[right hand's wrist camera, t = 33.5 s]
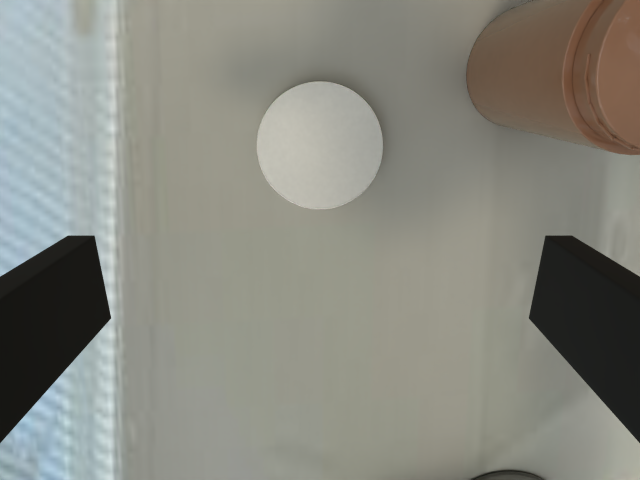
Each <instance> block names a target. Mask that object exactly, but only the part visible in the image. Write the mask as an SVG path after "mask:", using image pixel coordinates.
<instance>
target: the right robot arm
mask: <svg viewBox="0 0 640 480" xmlns="http://www.w3.org/2000/svg"><path fill="white" fill-rule="evenodd" d="M110 319H111V315H110V310H109V305H108V300H107V295H106V291H105V286H104V281H103V276H102V271H101V266H100V261H99V256H98V251H97V246H96V241H95V236H67V237H65V238H63V239H62V240H60V241H59V242H57V243H55V244H54V245H52V246H50V247H49V248H47V249H45V250H44V251H42V252H40V253H39V254H37V255H35V256H34V257H32V258H30V259H29V260H27V261H26V262H24V263H22V264H21V265H19V266H17V267H16V268H14V269H12V270H11V271H9V272H7V273H6V274H4V275H2V276H1V277H0V443H1V442H2V440H3V439H4V438H5V437H6V436H7V435H8V434H9V433H10V431H11V430H12V429H13V428H14V427H15V426H16V425H17V424H18V422H19V421H20V420H21V419H22V418H23V417H24V416H25V415H26V413H27V412H28V411H29V410H30V409H31V408H32V407H33V405H34V404H35V403H36V402H37V401H38V400H39V399H40V398H41V396H42V395H43V394H44V393H45V392H46V391H47V390H48V389H49V387H50V386H51V385H52V384H53V383H54V382H55V381H56V380H57V378H58V377H59V376H60V375H61V374H62V373H63V372H64V371H65V369H66V368H67V367H68V366H69V365H70V364H71V363H72V362H73V360H74V359H75V358H76V357H77V356H78V355H79V354H80V353H81V351H82V350H83V349H84V348H85V347H86V346H87V345H88V344H89V342H90V341H91V340H92V339H93V338H94V337H95V336H96V335H97V333H98V332H99V331H100V330H101V329H102V328H103V327H104V326H105V324H106V323H107V322H108V321H109V320H110ZM529 319H530V320H531V321H532V322H533V323H534V324H535V326H536V327H537V328H538V329H539V330H540V331H541V332H542V333H543V335H544V336H545V337H546V338H547V339H548V340H549V341H550V342H551V344H552V345H553V346H554V347H555V348H556V349H557V350H558V351H559V353H560V354H561V355H562V356H563V357H564V358H565V359H566V360H567V362H568V363H569V364H570V365H571V366H572V367H573V368H574V369H575V371H576V372H577V373H578V374H579V375H580V376H581V377H582V378H583V380H584V381H585V382H586V383H587V384H588V385H589V386H590V387H591V389H592V390H593V391H594V392H595V393H596V394H597V395H598V396H599V398H600V399H601V400H602V401H603V402H604V403H605V404H606V406H607V407H608V408H609V409H610V410H611V411H612V412H613V413H614V415H615V416H616V417H617V418H618V419H619V420H620V421H621V422H622V424H623V425H624V426H625V427H626V428H627V429H628V430H629V431H630V433H631V434H632V435H633V436H634V437H635V438H636V439H637V440H638V442H639V443H640V277H639V276H638V275H636V274H634V273H633V272H631V271H629V270H628V269H626V268H624V267H623V266H621V265H619V264H618V263H616V262H614V261H613V260H611V259H610V258H608V257H606V256H605V255H603V254H601V253H600V252H598V251H596V250H595V249H593V248H591V247H590V246H588V245H586V244H585V243H583V242H581V241H580V240H578V239H577V238H575V237H573V236H545V241H544V246H543V251H542V256H541V261H540V266H539V271H538V276H537V281H536V286H535V291H534V295H533V300H532V305H531V310H530V315H529ZM474 480H543V479H541V478H539V477H537V476H535V475H532V474H528V473H524V472H515V471H505V472H497V473H491V474H487V475H484V476H481V477H479V478H476V479H474Z"/></svg>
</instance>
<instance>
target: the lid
mask: <svg viewBox="0 0 640 480" xmlns="http://www.w3.org/2000/svg"><path fill="white" fill-rule="evenodd" d="M257 155H258V161H259V164H260V167H261V170H262V172H263V174H264V176H265V178H266V180H267V181H268V183H269V184H270V185H271V187H272V188H273V189H274V190H275V191H276V192H277V193H278V194H279V195H280V196H282V197H283V198H285V199H286V200H288V201H289V202H291V203H293V204H296V205H298V206H301V207H304V208H309V209H331V208H335V207H339V206H342V205H344V204H347V203H349V202H350V201H352V200H354V199H355V198H357V197H358V196H359V195H361V194H362V193H363V192H364V191H365V190H366V189H367V188H368V186H369V185H370V184H371V182H372V181H373V179H374V178H375V176H376V174H377V172H378V170H379V167H380V164H381V160H382V155H383V136H382V131H381V127H380V124H379V121H378V119H377V117H376V115H375V113H374V111H373V110H372V108H371V107H370V105H369V104H368V103H367V102H366V101H365V100H364V99H363V98H362V97H361V96H360V95H358V94H357V93H356V92H354V91H353V90H351V89H349V88H347V87H345V86H343V85H340V84H336V83H333V82H326V81H314V82H307V83H303V84H300V85H297V86H295V87H293V88H291V89H289V90H287V91H286V92H284V93H283V94H281V95H280V96H279V97H278V98H277V99H276V100H275V101H274V102H273V103H272V104H271V105H270V107H269V108H268V110H267V111H266V113H265V115H264V117H263V118H262V121H261V124H260V126H259V130H258V135H257Z"/></svg>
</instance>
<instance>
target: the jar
mask: <svg viewBox="0 0 640 480" xmlns="http://www.w3.org/2000/svg"><path fill="white" fill-rule="evenodd" d="M467 87H468V92H469V95H470V98H471V100H472V102H473V104H474V106H475V107H476V109H477V110H478V111H479V112H480V113H481V115H482V116H484V117H485V118H486V119H487V120H489V121H491V122H492V123H495V124H497V125H500V126H504V127H508V128H512V129H516V130H521V131H525V132H529V133H533V134H537V135H542V136H546V137H550V138H554V139H559V140H563V141H567V142H571V143H575V144H580V145H584V146H588V147H592V148H597V149H601V150H605V151H609V152H614V153H618V154H625V155H640V0H533V1H530V2H527V3H525V4H522V5H520V6H517V7H515V8H512V9H510V10H508V11H506V12H504V13H503V14H501V15H499V16H498V17H497V18H495V19H494V20H493V21H492V22H491V23H490V24H489V25H488V26H487V27H486V28H485V29H484V30H483V32H482V33H481V34H480V36H479V37H478V39H477V41H476V42H475V44H474V46H473V48H472V51H471V54H470V57H469V60H468V65H467Z"/></svg>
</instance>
